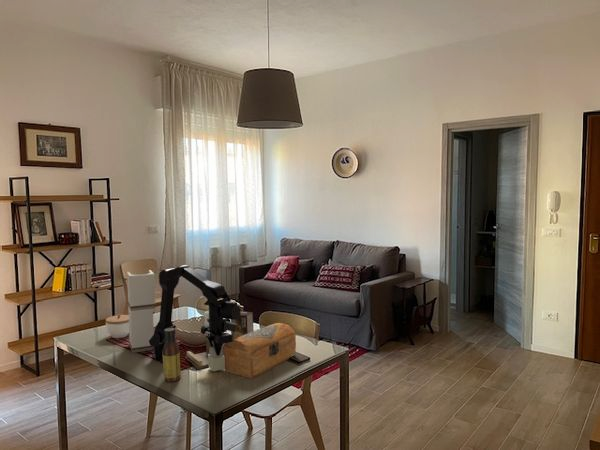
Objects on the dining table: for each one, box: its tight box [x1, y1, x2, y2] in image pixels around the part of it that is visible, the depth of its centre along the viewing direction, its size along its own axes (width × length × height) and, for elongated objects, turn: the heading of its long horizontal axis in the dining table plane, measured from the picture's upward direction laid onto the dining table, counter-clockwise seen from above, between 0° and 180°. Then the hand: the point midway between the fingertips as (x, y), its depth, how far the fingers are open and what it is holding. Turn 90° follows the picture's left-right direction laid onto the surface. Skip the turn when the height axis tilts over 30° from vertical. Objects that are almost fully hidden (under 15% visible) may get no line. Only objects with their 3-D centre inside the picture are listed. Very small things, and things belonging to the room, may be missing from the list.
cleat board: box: [185, 338, 211, 370], centre depth 194 cm, size 12×14×7 cm
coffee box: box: [230, 310, 255, 339], centre depth 210 cm, size 9×6×16 cm
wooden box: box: [222, 322, 297, 379], centre depth 190 cm, size 30×16×14 cm, turn 144°
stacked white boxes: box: [126, 269, 157, 354], centre depth 210 cm, size 11×11×35 cm
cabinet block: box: [207, 345, 225, 372], centre depth 183 cm, size 5×6×8 cm
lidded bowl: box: [105, 313, 129, 339], centre depth 228 cm, size 13×13×11 cm
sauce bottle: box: [162, 328, 182, 383], centre depth 174 cm, size 7×6×20 cm
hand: (216, 354), depth 183 cm, fingers closed on cabinet block, 2 cm apart
